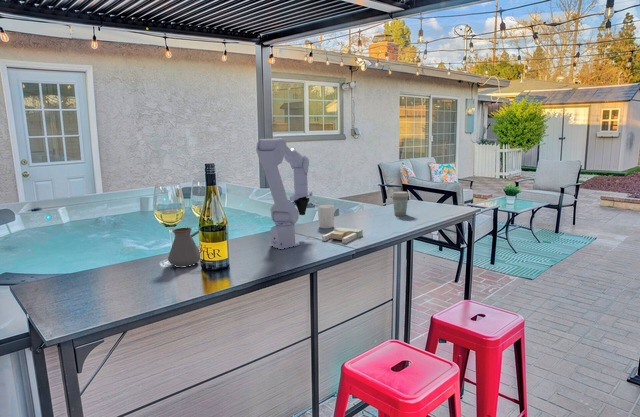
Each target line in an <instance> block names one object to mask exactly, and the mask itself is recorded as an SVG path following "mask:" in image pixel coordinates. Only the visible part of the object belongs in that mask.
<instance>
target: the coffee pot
mask: <svg viewBox="0 0 640 417" xmlns="http://www.w3.org/2000/svg"><path fill="white" fill-rule="evenodd" d="M192 230H193V229H192V228H191V227H179V228H174V229H173V230H172V232H173V233H174V239H173V242H172V246H171V248H170V251H169V254H168V257H167V261H168V262H169V264H170V265H172V264H173V265H172V266H174V265H176V266H189V265H193V264H195V263H197V264H198V263H199V261H200V260H201V259H200V253H201V251H200V249H199V247H198V245H197V244H196V243H195V240H194V239H193V237H194V236H195V237H196V235H198V234H200V233H199V230H196V232H193V233H192V234H191V232H192ZM199 251H200V252H199Z"/></svg>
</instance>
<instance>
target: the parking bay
mask: <svg viewBox="0 0 640 417" xmlns="http://www.w3.org/2000/svg"><path fill="white" fill-rule="evenodd" d="M337 230H348V231H349V235H348V236H346V237H344V238H342V241H341V243H342V244H345V243H346V244H347V243H350V242H351V241H353V240H355V239H357V238H358V239H359V238H361V237H362V236H363V229H359V228H357V229H356V228H348V227H335V228H334V229H333V230H332V231H330V232H328V233H326V234H324V235H322V236H321V237H322V238H321V240H322V242H326V241H329V240H330V239H331V233H332V232H334V231H337ZM331 240H332V239H331Z"/></svg>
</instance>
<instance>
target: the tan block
mask: <svg viewBox="0 0 640 417" xmlns="http://www.w3.org/2000/svg"><path fill="white" fill-rule="evenodd" d="M333 231H334V230H333ZM331 232H332V231H331ZM348 235H349V231H348V230H337V231H334V232H332V233H331V240H332V241H334V240H339V241H340V242H342V238H344V237H346V236H348Z"/></svg>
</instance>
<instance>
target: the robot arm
mask: <svg viewBox="0 0 640 417" xmlns="http://www.w3.org/2000/svg"><path fill="white" fill-rule="evenodd" d="M255 151H256V153H257V157H258V160H259V162H260V163H259V164H261V165H262V169H263V172H264V175H265V179H266V181H267V183H268V187H269V190H270V193H271V196H272V199H273V203H272V205H271V206H270V217H271V220H272V222H273V223H274V226H272V227H270V230H269V231H270V232H269V233H270V234H269V236H270V244H269V246H270V247H272V246H273V247H272V248H275V249H277V248H278V249H277V250H280V249H281V250H284V248H285V249H290V248H292V247H293V246H294V247H297V246H300V244H301V243H298V242H296V231H295V230H296V228H295V224H297V222H298V221H299V217H300V216H305V215H306V211H307V206H308V203H309V202H310V197H312V196H313V191H309V190H308V188H309V187H308V173H309V166H310V160H309V158H308V156H306V155H302V154H301V153H300V152H298V151H297V150H296V148H290V147H289V146H287V141H286V140H285V139H284V138H282V137H281V138H260V139H258V141H257V143H256V149H255ZM283 160H284V161H286V162H287V163H289V165H290V168H291V169H292V170H293V184H294V185H293V187H294V194H292V195H290V196H289V198H288V197H287V193H286V190H285V186H284V184H283V181H282V177H281V174H280V170H279V167H278V166H279V165H280V164H282V163H283ZM289 247H290V248H289Z"/></svg>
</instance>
